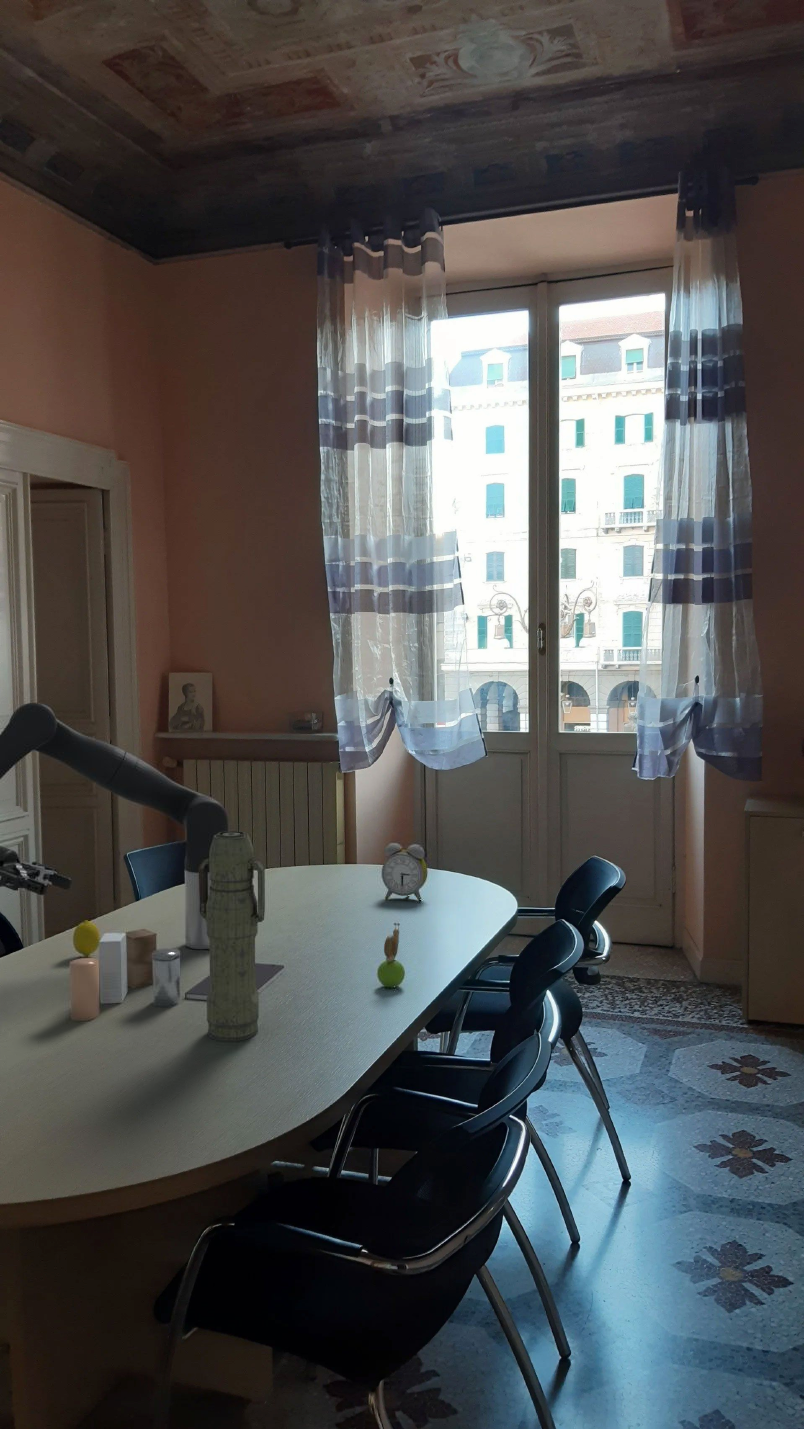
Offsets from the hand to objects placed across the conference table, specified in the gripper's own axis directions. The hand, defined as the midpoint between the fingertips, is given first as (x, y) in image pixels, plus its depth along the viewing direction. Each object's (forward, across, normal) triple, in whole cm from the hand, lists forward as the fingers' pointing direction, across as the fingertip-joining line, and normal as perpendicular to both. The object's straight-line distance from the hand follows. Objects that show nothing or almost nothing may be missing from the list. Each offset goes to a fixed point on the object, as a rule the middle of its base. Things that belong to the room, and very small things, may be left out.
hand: (58, 887), depth 205 cm
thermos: (+46, -11, +10) cm, 48 cm away
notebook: (+36, +14, +11) cm, 40 cm away
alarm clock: (+50, +91, 0) cm, 103 cm away
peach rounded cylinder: (+17, -10, +18) cm, 27 cm away
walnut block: (+17, +10, +16) cm, 25 cm away
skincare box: (+17, 0, +17) cm, 24 cm away
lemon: (-2, +23, +20) cm, 31 cm away
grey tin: (+28, +1, +14) cm, 31 cm away
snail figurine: (+65, +20, +2) cm, 68 cm away
